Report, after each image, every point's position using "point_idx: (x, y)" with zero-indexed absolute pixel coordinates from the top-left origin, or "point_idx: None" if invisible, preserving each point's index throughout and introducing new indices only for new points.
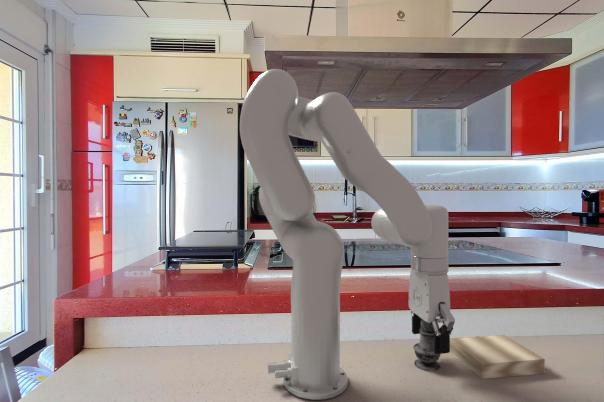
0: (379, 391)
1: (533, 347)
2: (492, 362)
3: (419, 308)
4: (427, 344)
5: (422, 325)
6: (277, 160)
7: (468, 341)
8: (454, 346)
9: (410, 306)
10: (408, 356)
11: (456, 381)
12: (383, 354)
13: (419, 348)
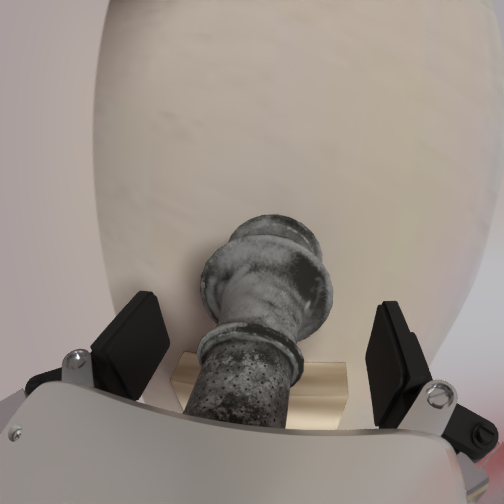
0: (119, 41)
1: None
2: (182, 400)
3: (113, 484)
4: (223, 305)
5: (222, 371)
6: None
7: (313, 421)
8: (314, 386)
9: (392, 466)
10: (355, 222)
11: (167, 292)
12: (392, 122)
13: (249, 261)
